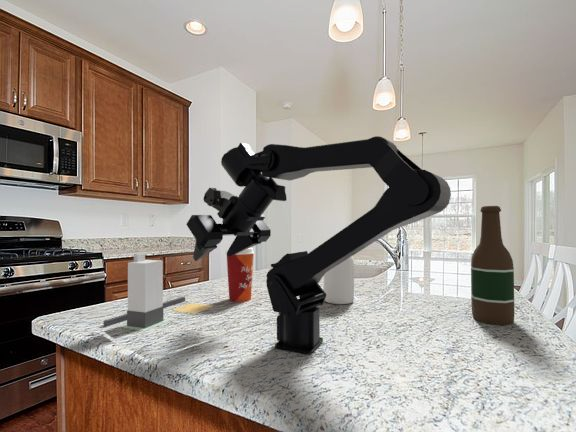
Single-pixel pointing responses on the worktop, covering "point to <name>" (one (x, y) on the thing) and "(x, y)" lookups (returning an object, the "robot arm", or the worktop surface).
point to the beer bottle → (492, 273)
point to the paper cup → (240, 275)
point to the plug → (145, 292)
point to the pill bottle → (340, 283)
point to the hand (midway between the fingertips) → (212, 257)
